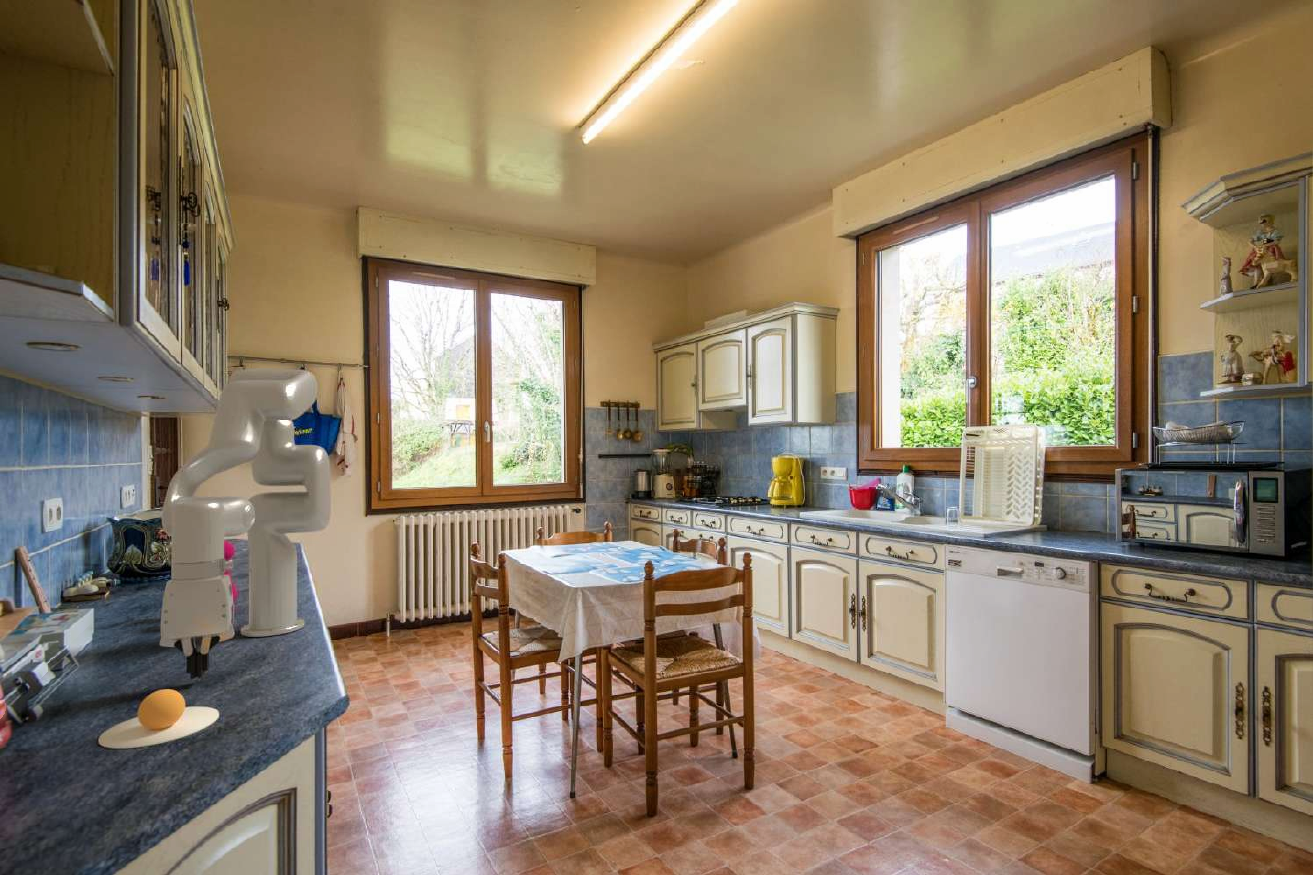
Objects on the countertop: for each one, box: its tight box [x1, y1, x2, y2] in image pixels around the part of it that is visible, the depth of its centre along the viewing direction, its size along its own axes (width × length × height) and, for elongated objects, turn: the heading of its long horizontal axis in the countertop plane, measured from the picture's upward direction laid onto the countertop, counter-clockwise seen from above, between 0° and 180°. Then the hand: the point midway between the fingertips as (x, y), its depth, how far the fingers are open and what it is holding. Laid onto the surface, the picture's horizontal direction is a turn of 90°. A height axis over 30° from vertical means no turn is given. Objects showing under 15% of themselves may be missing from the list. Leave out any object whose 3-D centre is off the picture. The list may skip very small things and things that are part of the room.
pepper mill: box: [224, 537, 239, 613], centre depth 163 cm, size 7×7×20 cm
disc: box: [98, 706, 220, 750], centre depth 94 cm, size 14×14×1 cm
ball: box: [137, 688, 186, 730], centre depth 93 cm, size 6×6×6 cm
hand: (198, 675), depth 111 cm, fingers closed
